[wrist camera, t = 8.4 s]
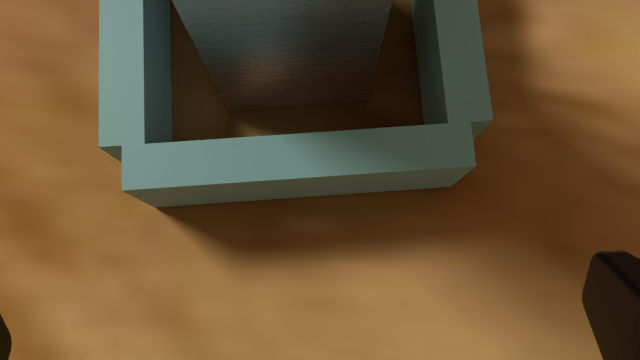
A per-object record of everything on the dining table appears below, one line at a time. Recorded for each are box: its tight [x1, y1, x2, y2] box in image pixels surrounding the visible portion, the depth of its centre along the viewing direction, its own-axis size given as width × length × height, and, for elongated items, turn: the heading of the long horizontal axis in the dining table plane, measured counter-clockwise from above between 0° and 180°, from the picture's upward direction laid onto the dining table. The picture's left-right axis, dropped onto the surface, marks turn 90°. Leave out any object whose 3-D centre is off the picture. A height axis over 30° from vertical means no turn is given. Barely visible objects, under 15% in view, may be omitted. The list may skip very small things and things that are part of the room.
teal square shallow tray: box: [99, 0, 493, 207], centre depth 17 cm, size 10×10×3 cm
